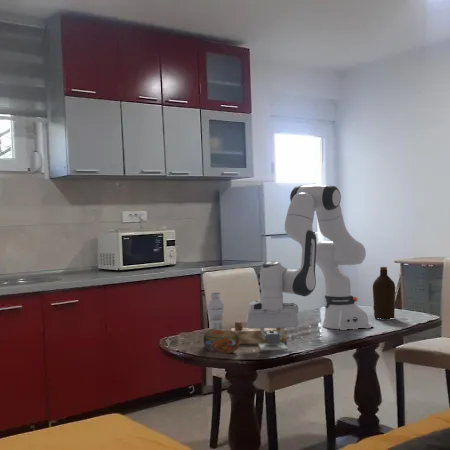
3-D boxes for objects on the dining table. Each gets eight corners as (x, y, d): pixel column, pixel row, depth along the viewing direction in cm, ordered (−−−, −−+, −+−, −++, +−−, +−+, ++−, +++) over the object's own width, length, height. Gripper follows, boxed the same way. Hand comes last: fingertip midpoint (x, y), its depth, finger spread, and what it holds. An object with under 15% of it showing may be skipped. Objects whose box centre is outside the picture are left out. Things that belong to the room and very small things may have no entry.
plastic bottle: (228, 341, 237) (227, 292, 236) (216, 344, 231) (215, 294, 231) (216, 339, 241) (215, 291, 240) (205, 342, 236) (204, 293, 235)
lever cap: (279, 343, 222) (279, 332, 222) (268, 344, 222) (268, 333, 222) (276, 339, 229) (276, 329, 229) (265, 340, 229) (265, 329, 229)
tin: (203, 350, 223) (202, 328, 223) (208, 348, 226) (207, 326, 226) (236, 354, 215) (235, 332, 215) (240, 353, 217) (240, 330, 217)
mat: (282, 343, 231) (282, 342, 231) (287, 349, 221) (287, 347, 221) (257, 344, 230) (257, 343, 230) (261, 350, 220) (261, 348, 220)
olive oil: (399, 318, 282) (399, 266, 281) (388, 321, 275) (387, 268, 274) (380, 315, 290) (380, 265, 289) (368, 318, 282) (368, 267, 282)
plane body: (283, 338, 241) (283, 314, 241) (286, 342, 234) (286, 317, 234) (230, 340, 239) (230, 316, 239) (232, 344, 232) (231, 319, 232)
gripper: (296, 301, 229) (297, 336, 230) (245, 303, 228) (245, 338, 228) (299, 304, 223) (300, 339, 223) (246, 305, 222) (247, 341, 222)
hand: (272, 339), depth 226 cm, fingers closed on lever cap, 4 cm apart
